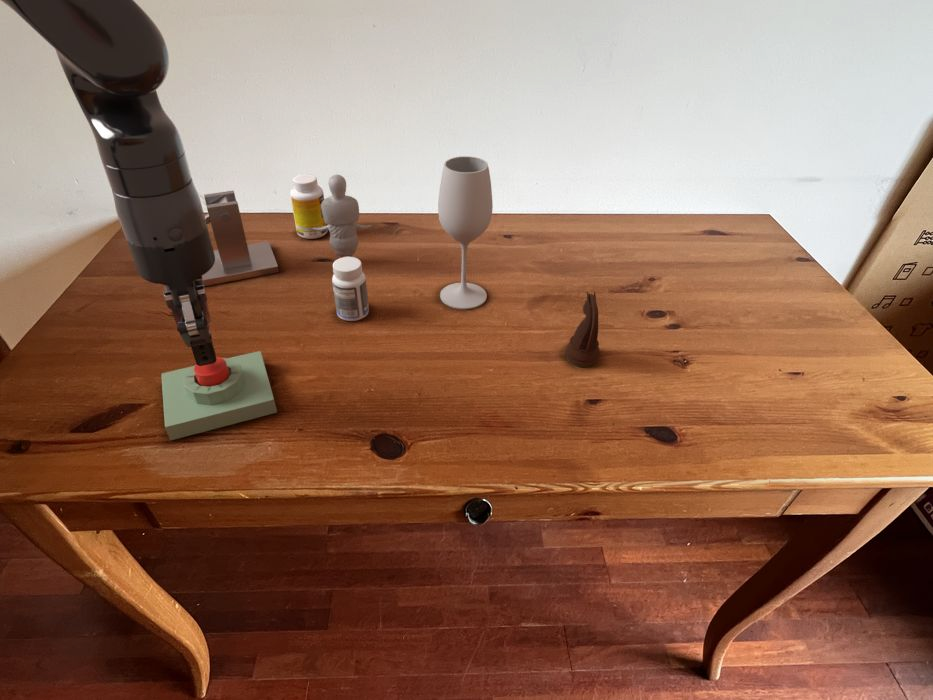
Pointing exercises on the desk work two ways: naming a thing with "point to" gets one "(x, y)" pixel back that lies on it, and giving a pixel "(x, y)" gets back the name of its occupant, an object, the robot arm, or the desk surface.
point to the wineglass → (465, 219)
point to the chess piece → (585, 337)
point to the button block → (216, 397)
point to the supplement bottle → (307, 206)
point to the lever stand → (234, 245)
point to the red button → (212, 373)
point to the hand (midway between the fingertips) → (206, 361)
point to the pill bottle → (350, 289)
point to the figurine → (341, 218)
